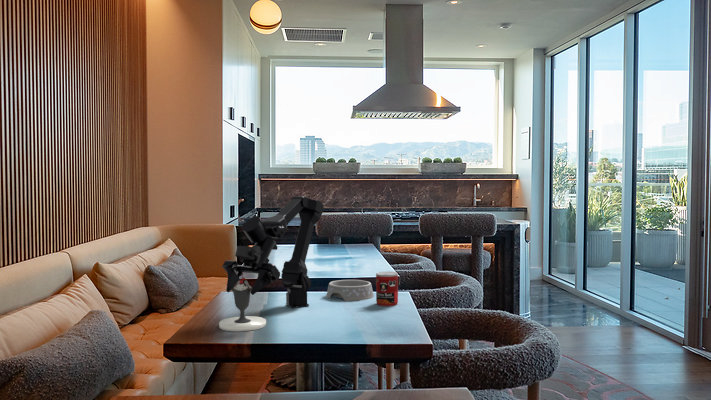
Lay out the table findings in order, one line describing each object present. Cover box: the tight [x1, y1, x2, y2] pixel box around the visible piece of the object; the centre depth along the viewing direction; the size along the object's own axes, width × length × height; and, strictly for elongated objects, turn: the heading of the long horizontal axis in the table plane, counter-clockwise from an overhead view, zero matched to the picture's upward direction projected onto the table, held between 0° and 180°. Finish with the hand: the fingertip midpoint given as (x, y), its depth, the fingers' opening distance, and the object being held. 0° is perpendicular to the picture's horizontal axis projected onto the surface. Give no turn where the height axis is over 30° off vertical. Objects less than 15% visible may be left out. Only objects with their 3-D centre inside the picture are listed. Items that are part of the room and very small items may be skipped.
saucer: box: [218, 315, 267, 332], centre depth 174 cm, size 14×14×1 cm
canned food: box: [375, 271, 399, 307], centre depth 204 cm, size 8×8×11 cm
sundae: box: [230, 272, 253, 323], centre depth 174 cm, size 7×7×15 cm
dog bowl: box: [325, 279, 375, 302], centre depth 218 cm, size 17×18×5 cm
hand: (239, 292), depth 173 cm, fingers open, 9 cm apart
